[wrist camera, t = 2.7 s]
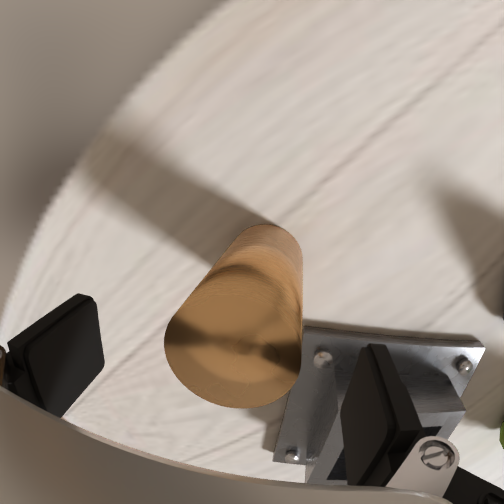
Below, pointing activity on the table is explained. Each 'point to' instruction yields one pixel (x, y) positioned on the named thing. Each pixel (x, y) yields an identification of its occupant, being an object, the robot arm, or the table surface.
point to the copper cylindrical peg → (242, 323)
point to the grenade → (502, 435)
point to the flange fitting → (338, 379)
